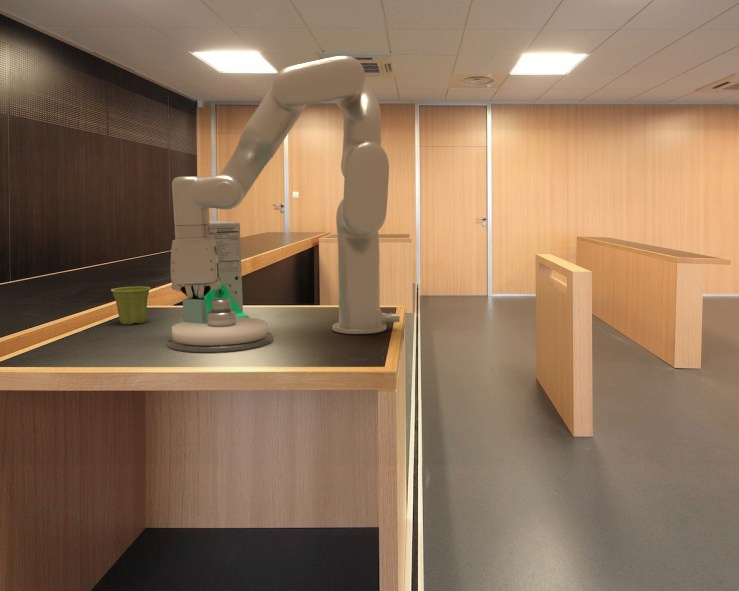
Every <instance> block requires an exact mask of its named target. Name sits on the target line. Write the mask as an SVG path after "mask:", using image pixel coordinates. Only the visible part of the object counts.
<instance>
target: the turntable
mask: <svg viewBox="0 0 739 591" xmlns="http://www.w3.org/2000/svg"><path fill="white" fill-rule="evenodd" d="M182 315H183V321H182V322H178V323H175V324H173V325H172V326H171V337H172V340H173V341H175V342H177V343H181V344H187V345H202V346H213V345H231V344H240V343H247V342H252V341H256V340H260V339H262V338H265V337H266V336H267V335H268V332H269V323H268V322H267V321H266V320H264V319H261V318H254V317H249V318H244V317H236V325H234V326H229V327H209V326H208V325H207V315H206V300H199V299H189V298H184V299H182Z"/></svg>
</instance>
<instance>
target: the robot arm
mask: <svg viewBox="0 0 739 591" xmlns="http://www.w3.org/2000/svg"><path fill="white" fill-rule="evenodd" d="M269 88H270V89H269V90H268V91H267V92H266V94H265V96H264V97H263V99H262V100H261V101H260V103H259V105H258V106H257V108H256V109H255V111H254V113H253V114H252V115H251V117H250V118H249V120H248V121H247V123H246V124H245V126H244V127H243V130H242V132H241V135H240V137H239V140H238V143H237V146H236V147H235V150H234V152H232V155H231V157H230V158H229V160H228V162H226V165H225V166H224V168H223V169H222V171H221V172H220V174H218V175H211V176H203V177H202V176H197V175H196V176H195V175H193V176H188V175H187V176H177V177H174V179H173V180H172V182H171V192H172V203H173V204H172V206H173V221H174V236H175V237H174V238H175V239H173V240H172V243H171V249H170V250H171V251H170V280H171V285H170V286H171V287H170V288H171V290H172V291H177V292H182V294H184V295H185V296H186V297H187V299H199V300H204V297H205V296H206V294H207V293H208V292H209V291H211V290H214V289H218V288H220V287H221V285H220V281H219V279H220V269H219V260H218V253H217V248H216V243H215V240H214V239H211V237H210V236H211V235H212V234H215V233H217V228H213V227H211V225H209V224H210V221H211V220H210V209H217V210H232V209H235V208H237V207H239V205H240V204H241V203H242V201H243V200H244V199H245V197H246V195H247V194H248V192H249V191H250V189H251V188H252V187H253V185H254V183H255V182H256V180H257V179H258V177H259V176H260V174H261V173H262V171H263V170H264V168H265V167H266V166H267V164H268V163H269V162H270V161H271V160H272V158H273V157H274V156H275V155H276V153H277V151H278V150H279V149H280V147H281V145H282V144H283V142H284V140H285V139H286V137H287V136H288V134H289V133H290V131H291V130H292V128H293V127H294V125H295V124H296V122H297V121H298V119H299V118H300V117H301V116H302V114H303V113H304V111H305V109H306V107H307V106H309V105H315V104H320V103H325V102H329V101H331V102H332V103H334V104H335V105H337V107H338V108H339V109H340V112H341V113H342V118H343V129H342V130H343V136H342V138H343V139H342V140H343V142H342V153H341V160H340V168H341V170H340V171H341V173H342V176H343V177H344V178H343V180H344V183H343V197H342V198H343V199H341V200H340V203H339V204H338V206H337V210H336V221H335V222H336V234H337V261H338V263H337V269H338V270H337V273H338V275H337V276H338V322H336V323H334V324H332V331H334V332H336V333H340V334H346V335H368V334H378V333H382V332H384V331H386V330H387V324H386V323H389V322H391V323H400V321H401V320H400V318H401V316H400V313H393V312H392V313H386V312H383V311H382V309H381V307H380V305H381V304H380V303H381V300H380V298H381V297H380V296H381V295H380V294H381V293H380V290H381V289H380V288H381V287H380V283H381V282H380V262H381V261H380V254H381V253H380V239H379V231H380V230H381V229H382V227H383V225H384V224H385V220H386V216H387V211H388V210H387V208H388V196H389V180H390V179H389V178H390V177H389V176H390V163H389V158H388V155H387V152H386V151H385V149H384V148H383V147H382V112H381V106H380V103H379V100H378V98H377V97H376V95H375V93H374V91H373V90H372V89H371V87H370V85H368V84H367V83H366V73H365V70H364V67H363V65H362V63H361V62H360V61H359V60H358V59H357V58H354V57H353V56H349V55H336V56H332V57H330V56H329V57H327V58H323V59H318V60H317V59H316V60H313V61H307V62H303V63H298V64H294V65H290V66H286V67H284V68H281V69H280V70H279V71H278V72H277V73H276V74H275V76H274V78H273V80H272V84H271V86H270V87H269ZM212 283H213V284H212ZM207 284H211V285H208V286H207ZM193 285H199V289H198V295H197V297H196V294H195V290H194V286H193Z"/></svg>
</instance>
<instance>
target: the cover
mask: <svg viewBox="0 0 739 591" xmlns="http://www.w3.org/2000/svg"><path fill="white" fill-rule="evenodd" d="M211 305H212V311H208V312H207V325H208V326H209V327H229V326H234V325H236V311H234V310H231V300H230V299H213V300H211Z"/></svg>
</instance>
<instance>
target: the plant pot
mask: <svg viewBox="0 0 739 591" xmlns="http://www.w3.org/2000/svg"><path fill="white" fill-rule="evenodd" d="M150 290H151V287H149V286H123V287H117V288H111V290H110V291H111V293H112V295H113V298H114V299H115V304H116V308H117V314H118V318H119V323H120V324H122V325H132V324H133V325H134V324H135V323H137V324H142V323H146V321H147V311H148V310H147V307H148V297H149V294H150Z"/></svg>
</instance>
